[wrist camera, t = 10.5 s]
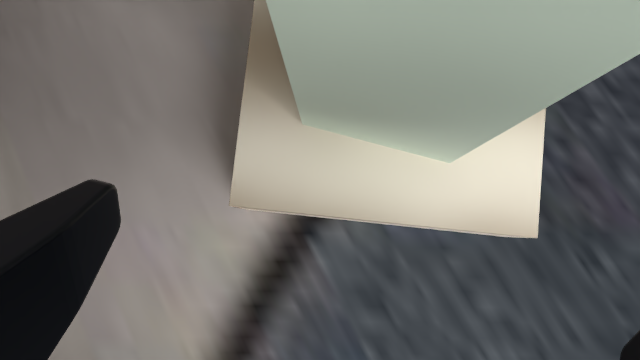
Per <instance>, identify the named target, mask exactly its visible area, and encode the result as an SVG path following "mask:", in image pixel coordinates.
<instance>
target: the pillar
mask: <svg viewBox="0 0 640 360" xmlns="http://www.w3.org/2000/svg"><path fill="white" fill-rule="evenodd" d="M266 3H267V6H268V10H269V13H270V16H271V20H272V23H273V27H274V30H275V33H276V37H277V40H278V44H279V47H280V50H281V54H282V57H283V60H284V64H285V67H286V71H287V74H288V77H289V81H290V84H291V88H292V91H293V94H294V98H295V101H296V104H297V108H298V111H299V115H300V118H301V121H302V124H303V125H307V126H311V127H314V128H318V129H322V130H326V131H330V132H333V133H337V134H341V135H345V136H348V137H352V138H356V139H360V140H364V141H367V142H371V143H375V144H379V145H382V146H386V147H390V148H394V149H397V150H401V151H405V152H409V153H413V154H416V155H420V156H424V157H428V158H431V159H435V160H439V161H443V162H447V163H451V162H453V161H455V160H456V159H458V158H460V157H462V156H463V155H465V154H467V153H469V152H470V151H472V150H474V149H476V148H477V147H479V146H481V145H482V144H484V143H486V142H488V141H489V140H491V139H493V138H495V137H496V136H498V135H500V134H501V133H503V132H505V131H507V130H508V129H510V128H512V127H514V126H515V125H517V124H519V123H521V122H522V121H524V120H526V119H527V118H529V117H531V116H533V115H534V114H536V113H538V112H540V111H541V110H543V109H545V108H546V107H548V106H550V105H552V104H553V103H555V102H557V101H559V100H560V99H562V98H564V97H566V96H567V95H569V94H571V93H572V92H574V91H576V90H578V89H579V88H581V87H583V86H585V85H586V84H588V83H590V82H591V81H593V80H595V79H597V78H598V77H600V76H602V75H604V74H605V73H607V72H609V71H611V70H612V69H614V68H616V67H617V66H619V65H621V64H623V63H624V62H626V61H628V60H630V59H631V58H633V57H635V56H636V55H638V54H640V0H266Z"/></svg>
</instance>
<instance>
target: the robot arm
mask: <svg viewBox="0 0 640 360" xmlns="http://www.w3.org/2000/svg"><path fill="white" fill-rule="evenodd" d="M120 223H121V216H120V209H119V201H118V194H117V189H116V187H115V186H114V185H112V184H110V183H106V182H102V181H98V180H93V179H91V180H87V181H84V182H82V183H80V184H78V185H76V186H74V187H72V188H69V189H67V190H65V191H63V192H61V193H59V194H57V195H54V196H52V197H50V198H48V199H46V200H44V201H41V202H39V203H37V204H35V205H33V206H31V207H29V208H26V209H24V210H22V211H20V212H18V213H16V214H13V215H11V216H9V217H7V218H5V219H3V220H1V221H0V360H48V358H49V356H50V355H51V353H52V352H53V350H54V349H55V347H56V346H57V344H58V342H59V341H60V339H61V338H62V336H63V335H64V333H65V332H66V330H67V328H68V327H69V325H70V324H71V322H72V321H73V319H74V317H75V316H76V314H77V312H78V311H79V309H80V307H81V305H82V304H83V302H84V300H85V298H86V296H87V294H88V292H89V290H90V288H91V286H92V284H93V282H94V280H95V278H96V276H97V274H98V272H99V270H100V268H101V266H102V264H103V262H104V259H105V257H106V255H107V253H108V251H109V249H110V247H111V245H112V243H113V241H114V239H115V237H116V235H117V233H118V231H119V228H120ZM620 360H640V330H639V331H638V332H637V333H636V334H635V336H634V337H633V338H632V339H631V340H630V341H629V342H628V343H627V344H626V345H625V346H624V348H623V349H622V352H621V356H620Z"/></svg>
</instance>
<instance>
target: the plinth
mask: <svg viewBox="0 0 640 360" xmlns="http://www.w3.org/2000/svg"><path fill="white" fill-rule="evenodd" d="M545 112H546V108H545V109H543V110H541V111H540V112H538V113H536V114H534V115H533V116H531V117H529V118H527V119H526V120H524V121H522V122H521V123H519V124H517V125H515V126H514V127H512V128H510V129H508V130H507V131H505V132H503V133H501V134H500V135H498V136H496V137H495V138H493V139H491V140H489V141H488V142H486V143H484V144H482V145H481V146H479V147H477V148H476V149H474V150H472V151H470V152H469V153H467V154H465V155H463V156H462V157H460V158H458V159H456V160H455V161H453V162H451V163H447V162H443V161H439V160H435V159H431V158H428V157H424V156H420V155H416V154H413V153H409V152H405V151H401V150H397V149H394V148H390V147H386V146H382V145H379V144H375V143H371V142H367V141H364V140H360V139H356V138H352V137H348V136H345V135H341V134H337V133H333V132H330V131H326V130H322V129H318V128H314V127H311V126H307V125H303V124H302V121H301V118H300V115H299V111H298V108H297V104H296V101H295V98H294V94H293V91H292V88H291V84H290V81H289V77H288V74H287V71H286V67H285V64H284V60H283V57H282V54H281V50H280V47H279V44H278V40H277V37H276V33H275V30H274V27H273V23H272V20H271V16H270V13H269V10H268V6H267V3H266V0H254V6H253V15H252V23H251V31H250V39H249V47H248V55H247V63H246V71H245V80H244V88H243V96H242V104H241V112H240V120H239V128H238V136H237V145H236V153H235V161H234V169H233V177H232V185H231V193H230V201H229V206H233V207H237V208H241V209H246V210H255V211H265V212H274V213H284V214H293V215H303V216H312V217H322V218H331V219H341V220H350V221H360V222H369V223H379V224H388V225H398V226H407V227H417V228H426V229H436V230H445V231H455V232H464V233H474V234H483V235H493V236H502V237H523V238H537V237H538V222H539V206H540V190H541V175H542V159H543V143H544V128H545Z"/></svg>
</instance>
